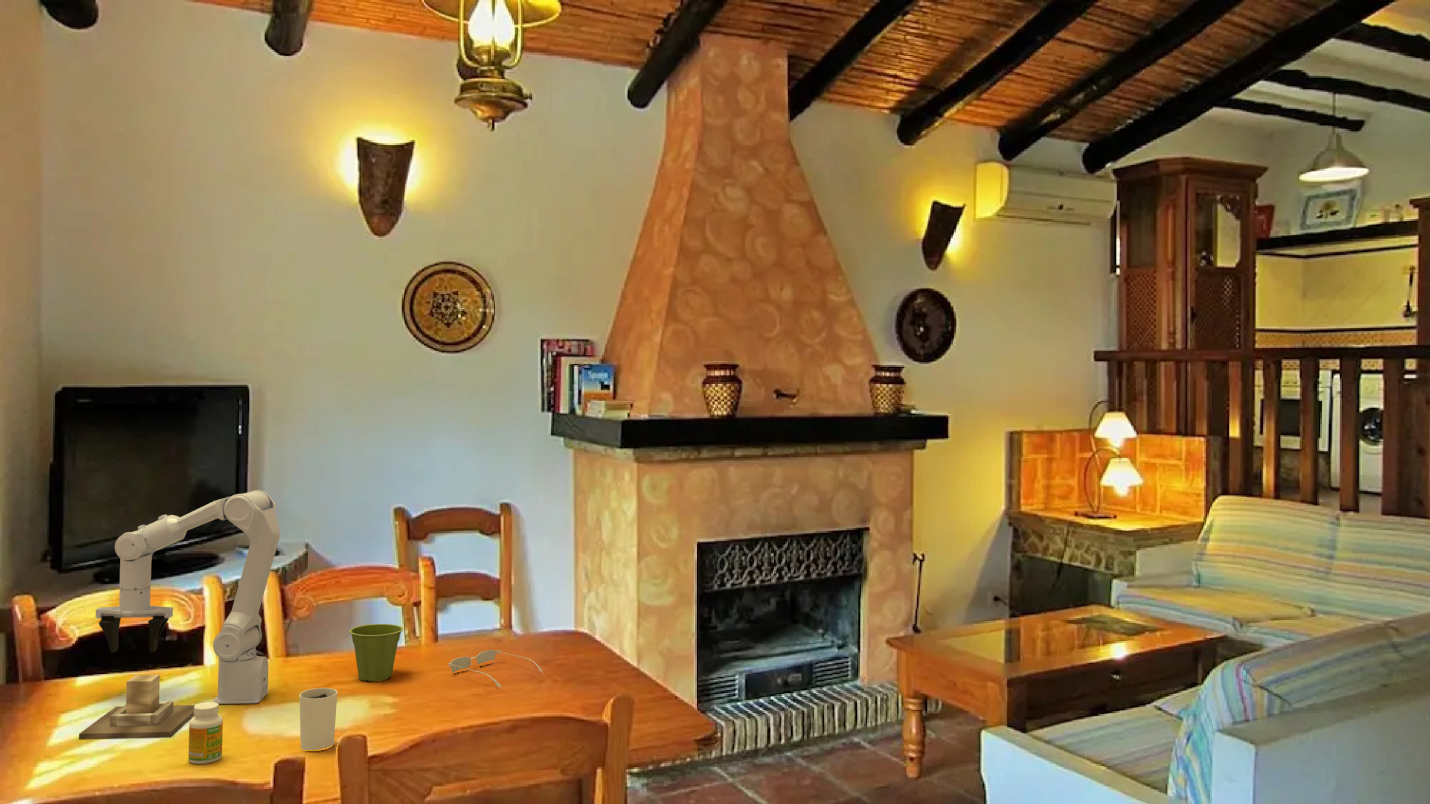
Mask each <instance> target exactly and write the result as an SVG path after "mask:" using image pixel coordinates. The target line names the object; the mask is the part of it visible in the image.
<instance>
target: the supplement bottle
mask: <svg viewBox="0 0 1430 804" xmlns="http://www.w3.org/2000/svg"><path fill="white" fill-rule="evenodd" d="M194 705H195V706H194V716H193V717H192V718H191V719H190V720H189V724H188V754H187V755H188V759H187V760H188V762H189V763H191V764H194V765H195V764H196V765H205V764H212V763H215V762H217V761H219V760H220V759H221V758H222V756H223V734H224V733H223V730H224V729H223V728H224V727H223V726H224V724H223V723H224V719H223V717H222V716H221V715H220V714H218V713H219V710H220V708H219V707H220V706H219V705H220V704H218V703H215V702H211V701H209V702H208V701H207V702H200V703H197V704H194Z"/></svg>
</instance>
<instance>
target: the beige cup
mask: <svg viewBox="0 0 1430 804" xmlns="http://www.w3.org/2000/svg"><path fill="white" fill-rule="evenodd" d="M298 697H299V726H300V727H299V728H300V730H299V732H300V735H299V736H300V749H301V748H302V749H303V750H317V749H318V750H319V749H322V748H327V747H330V746H331V745H333V744H335V734H336V733H335V732H336V731H335V730H336V716H337V715H336V714H337V704H338V703H337V702H338V690H337V689H335V688H330V687H315V688H310V689H306V690H303V691H301V692H300V693H299V695H298ZM302 749H301V750H302ZM303 750H302V751H303Z"/></svg>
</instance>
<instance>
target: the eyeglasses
mask: <svg viewBox="0 0 1430 804" xmlns="http://www.w3.org/2000/svg"><path fill="white" fill-rule="evenodd" d="M497 653H498V654H506V655H510V656H515V657H518V658H523V659H526V660H529V661H530V662H532V663H533V664H534V665H535V666H536V667H537V669H538V670H539V672H540V671H541V672H542V671H543V670H542V669H541V667H540V665H538V664H537V662H535V661H533V660H532V659H530V658H528V657H523V656H520V655H515V654H512V653H508V652H502V651H501V650H495V649H488V650H484V651H481V652H480V653H478V654H477V655H476V656H472V657H469V656H462V657H456V658H454V659H452V660H451V661H450V662H448V663H447V666H449V667H450V669H451V671H452V673H453V672H455V671H457V670H460V669H465V668H467V667H469V668H468V669H467V671H472V672H474V673H479V674H483V675H485V676H486V677H487V676H488V677H489V678H490V679H491V680H492V681H493V682H494V684H495V685H496V687H497V686H498V687H501V686H502V685H501V684H500V683H499V682H498V681H497V680H496V679H495V678H494V677H492V676H491V675H489V674H487V673H485V672H482V671H478V670H474V669H470V667H471V666H472V659H476V662H477V665H478V664H480V663H483V662H486V661H489V660H494V661H495V658H496V654H497ZM498 687H497V688H498Z"/></svg>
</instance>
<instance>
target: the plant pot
mask: <svg viewBox="0 0 1430 804" xmlns="http://www.w3.org/2000/svg"><path fill="white" fill-rule="evenodd" d="M403 631H404V627H403V626H401V625H397V624H392V623H371V624H363V625H357V626H353V627H351V628H350V629H349V630H348V632H349V634H350V635H351V639H352V644H353V645H354V646H353V647H354V654H355V655H354V656H355V661H356V667H357V675H358V679H359V680H361V681H362V680H363V682H364V681H365V682H366V681H369V682H372V681H377V682H380V681H381V682H383V681H385V680H388V679H389V678H391V677H392V675H393V669H394V664H395V660H396V655H397V649H398V644H399V641H400V638H401V633H402V632H403Z"/></svg>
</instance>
